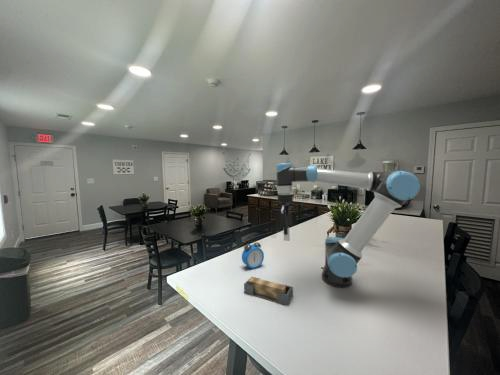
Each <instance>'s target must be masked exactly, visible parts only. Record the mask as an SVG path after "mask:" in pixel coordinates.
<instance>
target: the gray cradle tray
mask: <svg viewBox="0 0 500 375" xmlns="http://www.w3.org/2000/svg"><path fill="white" fill-rule="evenodd" d="M253 277H254V276H253ZM254 278H256V277H254ZM257 278H258V277H257ZM258 279H260V278H258ZM285 285H286V294H284V293H280V292H277V299H276V298H273V297H269V296H266V295H262V294H259V293H255V292H254V285H251V284H248V280H246V281H245V282H244V284H243V290H244V291H243V293H244V294H246V295H250V296H253V297H256V298H258V299H259V298H260V299H263V300H266V301H270V302H273V303H276V304H280V305H282V306H287V307H289V304H290V303H291V301H292V299H293V298H294V287H293V286H292V285H287V284H285Z"/></svg>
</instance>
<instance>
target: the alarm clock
mask: <svg viewBox="0 0 500 375" xmlns="http://www.w3.org/2000/svg"><path fill="white" fill-rule="evenodd" d="M264 258H265V254H264V251H263V250H262V244H261V243H259V242H254V243H252V244H251V243H250V244H249V243H248V244H245V245H244V247H243V251H242V253H241V261H242V263H243V265H245V266H246V267H247V268H249V270H251V269H257V268H259V267H260V266H261V265H262V264H263V262H264Z"/></svg>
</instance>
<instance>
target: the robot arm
mask: <svg viewBox="0 0 500 375" xmlns="http://www.w3.org/2000/svg"><path fill="white" fill-rule="evenodd" d="M296 182H297V183H299V182H301V183H303V182H310V183H311V182H312V183H320V184H321V183H322V184H327V185H334V186H335V185H336V186H341V187H342V186H344V187H351V188H359V189H365V190H366V191H368V192H373V195H374V198H373V199H372V201H370V204H368V206H367V207H366V209H365V210H364V212H363V213H362V214H361V216H360V217H359V219H357V220H356V222H355V224H354V225H353V226H352V228H351V229H350V230H349V232H348V233H347V234H346V236H345V237H338V236H331V237H330V236H329V237H326V238H325V242H324V244H325V248H324V249H325V251H324V254H325V255H324V258H325V259H324V266H323V268H322V269H323V270H322V272H321V280H322V281H323V282H324V283H326V284H328V285H330V286H332V287H336V288H348V287H350V286H351V285H352V284H353V278H352V276H354V275H355V274H356V273H357V270H358V263H359V262H360V260H361V259H362V258H363V254H362V251H363V250H364V249H365V247H366V246H367V245H368V244H369V243H370V241H371V240H372V239H373V237H374V236H375V235H376V233H377V232H378V230H380V228H381V227H382V225H383V224H384V223H385V221H386V220H387V219H388V218H389V216H390V215H391V214H392V213H393V211H394V210H395V209H399V208H402V207H403V205H404V204H405V203H406V202H407V201H409V200H411V199H414V198H415V197H416V196H418V194H419V192H420V189H421V182H420V181H419V178H418V177H417V176H416V175H415V174H413V173H412V172H409V171H404V170H396V171H383V172H382V171H381V172H375V171H370V172H368V173H363V172H356V171H355V172H354V171H345V170H335V169H325V168H318V167H317V166H316V165H303V166H293V164H292V163H291V162H283V163H282V162H280V163H278V164H277V165H276V190H277V202H278V203H281V204H280V209H279V215H280V223H281V229H283V230H282V232H283V241H288V242H290V240H291V239H290V228H291V227H292V225H291V210H292V205H290V203H292V202H293V201H294V197H293V196H294V195H293V192H294V191H293V183H296Z"/></svg>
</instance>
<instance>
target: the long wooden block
mask: <svg viewBox="0 0 500 375" xmlns="http://www.w3.org/2000/svg"><path fill="white" fill-rule="evenodd" d="M247 281H248V284H251V285H254V292H255V293H259V294H262V295H266V296H269V297H273V298H276V299H277V292H280V293H284V294H286V285H287V284H281V283H278V282H273V281H268V280H264V279H262V278H259V279H258V277H255V278H254V276H250V277H249V279H247Z"/></svg>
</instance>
